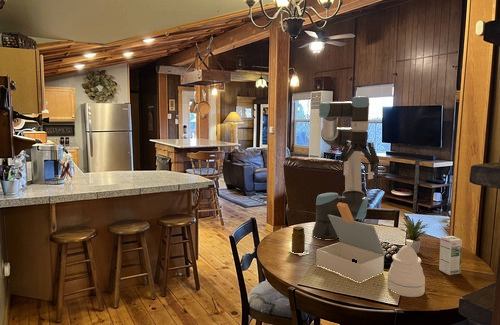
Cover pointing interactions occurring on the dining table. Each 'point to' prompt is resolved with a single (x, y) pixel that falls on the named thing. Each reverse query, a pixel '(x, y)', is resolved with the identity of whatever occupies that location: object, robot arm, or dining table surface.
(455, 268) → the syrup box
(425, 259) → the dining table surface
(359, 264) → the mailer box
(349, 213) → the lid
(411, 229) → the house plant
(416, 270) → the honey pot
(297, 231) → the condiment
